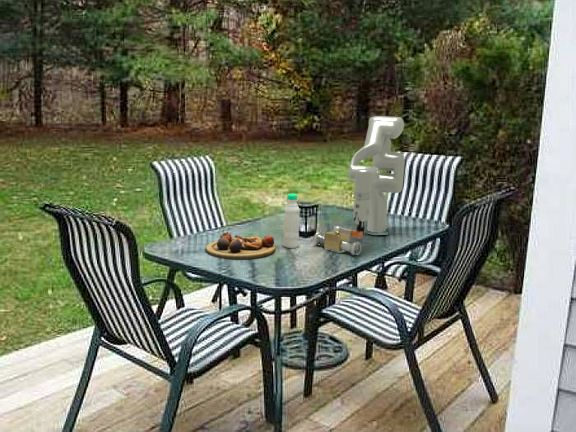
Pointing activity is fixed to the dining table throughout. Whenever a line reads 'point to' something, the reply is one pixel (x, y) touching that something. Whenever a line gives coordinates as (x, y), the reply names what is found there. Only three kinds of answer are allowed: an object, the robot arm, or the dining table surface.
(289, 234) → the water bottle
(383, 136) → the robot arm
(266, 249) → the wooden plate with food
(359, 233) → the valve lever
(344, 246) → the valve pipe
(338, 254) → the dining table surface
